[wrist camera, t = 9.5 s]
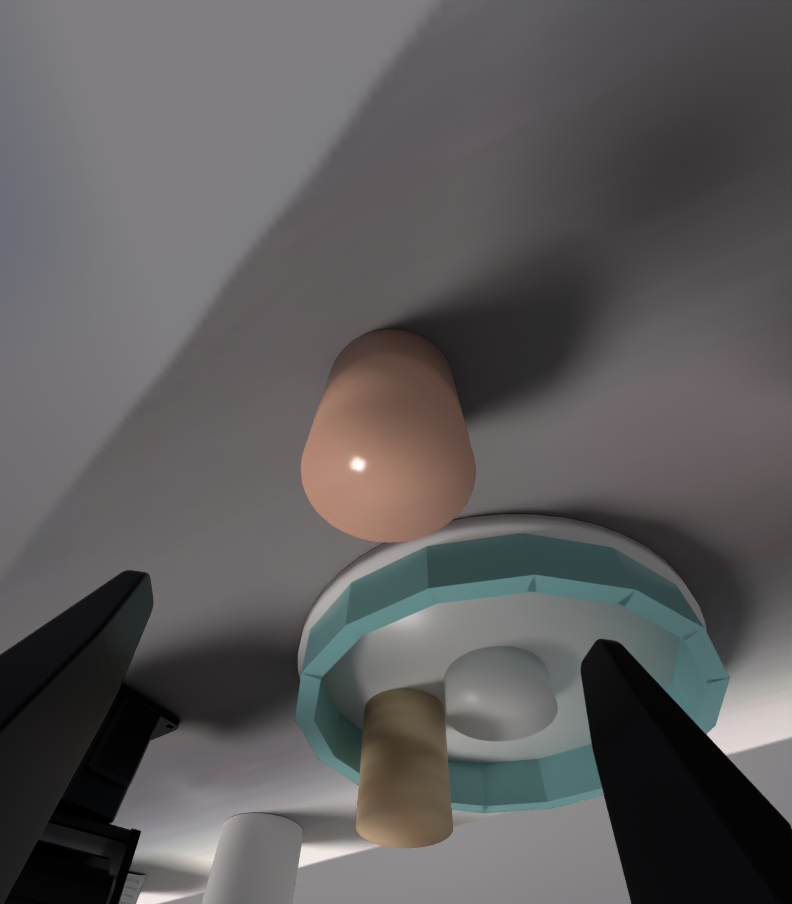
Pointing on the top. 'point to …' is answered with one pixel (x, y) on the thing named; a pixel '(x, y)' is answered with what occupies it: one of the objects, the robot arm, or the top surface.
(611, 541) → the groove tray
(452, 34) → the top surface
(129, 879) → the supplement box
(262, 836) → the cylindrical container
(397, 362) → the pinkish brown short cylinder
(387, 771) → the wood cylinder
